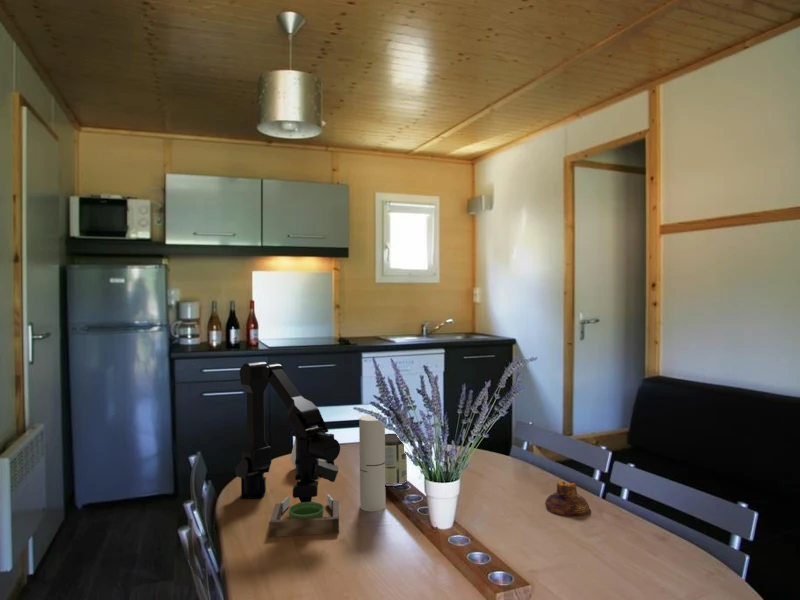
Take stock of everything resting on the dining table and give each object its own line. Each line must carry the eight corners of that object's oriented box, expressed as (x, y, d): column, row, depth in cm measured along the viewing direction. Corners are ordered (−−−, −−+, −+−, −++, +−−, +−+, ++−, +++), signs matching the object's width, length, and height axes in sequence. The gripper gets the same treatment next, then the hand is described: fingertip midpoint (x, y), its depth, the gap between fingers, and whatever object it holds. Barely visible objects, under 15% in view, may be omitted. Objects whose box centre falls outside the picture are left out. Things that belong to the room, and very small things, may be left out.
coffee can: (377, 476, 182) (376, 433, 182) (408, 476, 181) (408, 433, 181) (372, 486, 172) (372, 441, 172) (405, 487, 171) (405, 442, 171)
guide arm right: (335, 511, 153) (335, 500, 153) (332, 512, 152) (332, 501, 152) (329, 504, 158) (329, 493, 158) (326, 504, 158) (326, 494, 158)
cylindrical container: (382, 512, 152) (381, 421, 152) (357, 510, 153) (356, 420, 153) (388, 502, 159) (387, 415, 159) (363, 501, 160) (363, 414, 160)
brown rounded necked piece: (536, 505, 156) (535, 480, 156) (568, 498, 162) (568, 473, 162) (566, 520, 146) (566, 493, 146) (599, 512, 151) (599, 485, 151)
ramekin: (306, 515, 150) (306, 499, 150) (331, 523, 145) (331, 506, 145) (281, 526, 143) (281, 509, 143) (306, 535, 138) (305, 517, 138)
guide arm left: (282, 514, 151) (282, 503, 151) (279, 514, 151) (279, 503, 151) (290, 506, 157) (290, 495, 157) (287, 506, 157) (287, 495, 157)
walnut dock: (269, 536, 137) (269, 522, 137) (275, 516, 150) (275, 503, 150) (338, 532, 139) (338, 518, 139) (338, 513, 152) (338, 500, 152)
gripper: (336, 463, 142) (337, 524, 142) (336, 443, 160) (337, 497, 161) (292, 465, 141) (292, 526, 141) (297, 444, 159) (298, 498, 159)
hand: (307, 511), depth 151 cm, fingers closed
